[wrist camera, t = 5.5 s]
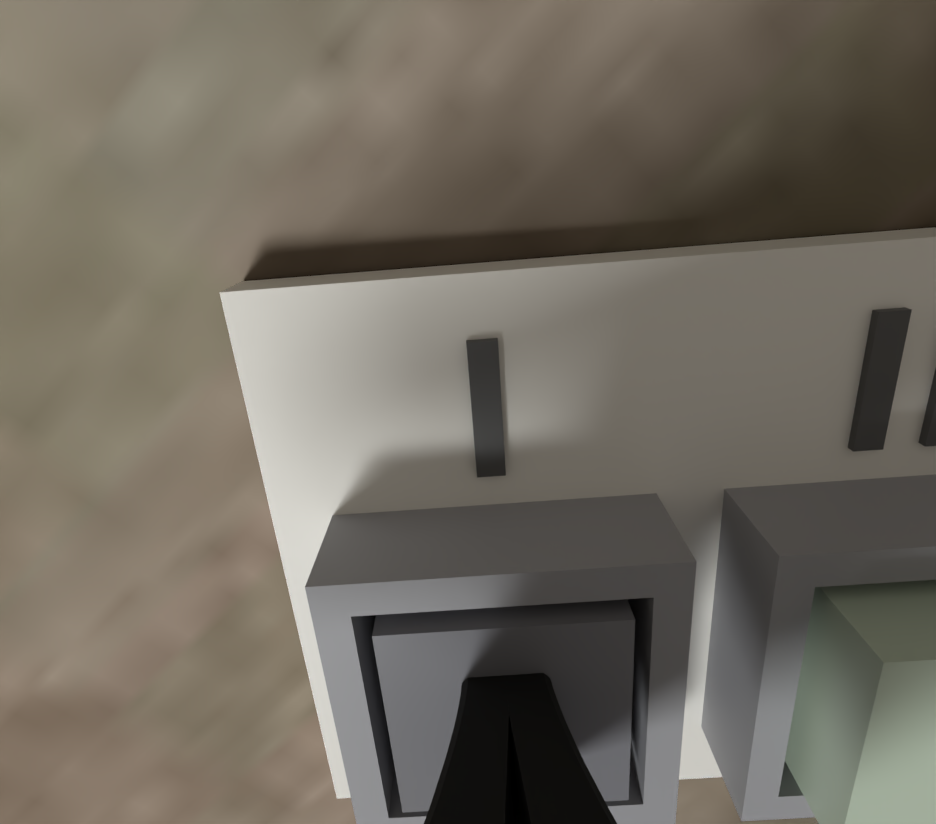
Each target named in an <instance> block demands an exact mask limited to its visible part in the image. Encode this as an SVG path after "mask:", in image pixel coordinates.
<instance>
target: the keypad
mask: <svg viewBox="0 0 936 824" xmlns="http://www.w3.org/2000/svg"><path fill="white" fill-rule="evenodd" d="M220 297H221V301H222V305H223V310H224V314H225V318H226V323H227V327H228V331H229V335H230V340H231V344H232V348H233V353H234V357H235V361H236V366H237V370H238V374H239V379H240V383H241V387H242V391H243V396H244V400H245V404H246V409H247V413H248V417H249V422H250V426H251V430H252V435H253V439H254V443H255V447H256V452H257V456H258V460H259V465H260V469H261V473H262V478H263V482H264V486H265V491H266V495H267V499H268V503H269V508H270V512H271V516H272V521H273V525H274V529H275V534H276V538H277V542H278V547H279V551H280V555H281V559H282V564H283V568H284V572H285V577H286V581H287V585H288V590H289V594H290V598H291V603H292V607H293V611H294V616H295V620H296V624H297V628H298V633H299V637H300V641H301V646H302V650H303V654H304V659H305V663H306V667H307V672H308V676H309V680H310V684H311V689H312V693H313V697H314V702H315V706H316V710H317V715H318V719H319V723H320V728H321V732H322V736H323V740H324V745H325V749H326V753H327V758H328V762H329V766H330V771H331V775H332V779H333V784H334V788H335V792H336V796H337V798H351V800H352V805H353V809H354V814H355V818H356V823H357V824H424V821H425V819H426V816H427V813H428V811H422V812H404V813H403V812H402V806H401V801H400V795H399V789H398V783H397V778H396V772H395V766H394V760H393V755H392V749H391V743H390V737H389V732H388V726H387V720H386V714H385V709H384V703H383V697H382V691H381V686H380V680H379V674H378V668H377V663H376V657H375V651H374V645H373V640H372V633H373V628H374V623H375V618H376V615H385V614H401V613H417V612H432V611H448V610H464V609H480V608H496V607H511V606H527V605H543V604H559V603H574V602H590V601H606V600H622V599H628V602H629V605H630V607H631V610H632V613H633V615H634V618H635V640H634V667H633V694H632V721H631V748H630V775H629V800H622V801H605V802H606V804H607V806H608V808H609V810H610V812H611V813H612V815H613V817H614V819H615V821H616V822H617V824H675V820H676V808H677V796H678V784H679V779H696V778H714V777H723V779H724V782H725V784H726V786H727V789H728V791H729V793H730V796H731V798H732V800H733V803H734V805H735V808H736V810H737V812H738V815H739V817H740V819H741V821H754V820H773V819H791V818H810V817H815V816H814V814H813V812H812V810H811V808H810V807H809V805H808V803H807V801H806V799H805V797H804V795H803V794H802V792H801V790H800V788H799V786H798V784H797V782H796V781H795V779H794V777H793V775H792V773H791V771H790V769H789V768H788V766H787V764H786V762H785V756H786V751H787V745H788V739H789V733H790V728H791V722H792V716H793V711H794V705H795V699H796V693H797V688H798V682H799V676H800V670H801V665H802V659H803V653H804V648H805V642H806V636H807V630H808V625H809V619H810V613H811V608H812V602H813V596H814V590H815V587H827V586H843V585H859V584H874V583H890V582H906V581H922V580H936V227H932V228H919V229H906V230H893V231H880V232H867V233H855V234H842V235H829V236H816V237H803V238H791V239H778V240H765V241H752V242H739V243H726V244H714V245H701V246H688V247H675V248H662V249H650V250H637V251H624V252H611V253H598V254H585V255H573V256H560V257H547V258H534V259H521V260H509V261H496V262H483V263H470V264H457V265H444V266H432V267H419V268H406V269H393V270H380V271H368V272H355V273H342V274H329V275H316V276H303V277H291V278H278V279H265V280H252V281H242V282H240V283H238V284H236V285H234V286H232V287H230V288H228V289H226V290H223V291H221V292H220Z"/></svg>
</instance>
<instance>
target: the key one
mask: <svg viewBox="0 0 936 824" xmlns="http://www.w3.org/2000/svg"><path fill="white" fill-rule="evenodd" d="M372 640H373V645H374V651H375V657H376V663H377V668H378V674H379V680H380V686H381V691H382V697H383V703H384V709H385V714H386V720H387V726H388V732H389V737H390V743H391V749H392V755H393V760H394V766H395V772H396V778H397V783H398V789H399V795H400V801H401V806H402V812H403V813H404V812H422V811H428V810H429V808H430V805H431V802H432V799H433V796H434V792H435V789H436V786H437V783H438V780H439V777H440V774H441V771H442V768H443V764H444V761H445V758H446V755H447V751H448V747H449V744H450V740H451V736H452V733H453V729H454V725H455V720H456V716H457V711H458V706H459V701H460V695H461V686H462V683H463V682H464V681H465V680H466V679H467V678H469V677H486V676H503V675H519V674H534V673H544V674H546V675H547V676H548V677H549V678H550V679H551V682H552V686H553V689H554V692H555V695H556V698H557V700H558V703H559V706H560V708H561V711H562V713H563V716H564V718H565V721H566V723H567V725H568V728H569V730H570V732H571V734H572V736H573V739H574V741H575V743H576V745H577V747H578V750H579V752H580V754H581V756H582V758H583V760H584V762H585V764H586V766H587V768H588V770H589V772H590V774H591V776H592V778H593V779H594V781H595V783H596V785H597V787H598V789H599V791H600V793H601V795H602V797H603V799H604V800H605V801H622V800H629V775H630V748H631V721H632V694H633V667H634V640H635V618H634V615H633V613H632V610H631V607H630V605H629V602H628V599H622V600H606V601H590V602H574V603H559V604H543V605H527V606H511V607H496V608H480V609H464V610H448V611H432V612H417V613H401V614H385V615H376V618H375V623H374V628H373V633H372Z"/></svg>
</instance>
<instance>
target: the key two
mask: <svg viewBox="0 0 936 824" xmlns="http://www.w3.org/2000/svg"><path fill="white" fill-rule="evenodd" d="M785 762H786V764H787V766H788V768H789V769H790V771H791V773H792V775H793V777H794V779H795V781H796V782H797V784H798V786H799V788H800V790H801V792H802V794H803V795H804V797H805V799H806V801H807V803H808V805H809V807H810V808H811V810H812V812H813V814H814V816H815V818H816V819H817V821H818V823H819V824H936V580H922V581H906V582H890V583H874V584H859V585H843V586H827V587H815V590H814V596H813V602H812V608H811V613H810V619H809V625H808V630H807V636H806V642H805V648H804V653H803V659H802V665H801V670H800V676H799V682H798V688H797V693H796V699H795V705H794V711H793V716H792V722H791V728H790V733H789V739H788V745H787V751H786V756H785Z"/></svg>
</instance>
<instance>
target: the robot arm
mask: <svg viewBox="0 0 936 824" xmlns="http://www.w3.org/2000/svg"><path fill="white" fill-rule="evenodd" d="M424 824H617V822H616V821H615V819H614V817H613V815H612V813H611V812H610V810H609V808H608V806H607V804H606V802H605V800H604V799H603V797H602V795H601V793H600V791H599V789H598V787H597V785H596V783H595V781H594V779H593V778H592V776H591V774H590V772H589V770H588V768H587V766H586V764H585V762H584V760H583V758H582V756H581V754H580V752H579V750H578V747H577V745H576V743H575V741H574V739H573V736H572V734H571V732H570V730H569V728H568V725H567V723H566V721H565V718H564V716H563V713H562V711H561V708H560V706H559V703H558V700H557V698H556V695H555V692H554V689H553V686H552V682H551V679H550V678H549V677H548V676H547V675H546V674H544V673H534V674H519V675H503V676H486V677H469V678H467V679H466V680H465V681H464V682H463V683H462V686H461V695H460V701H459V706H458V711H457V716H456V720H455V725H454V729H453V733H452V736H451V740H450V744H449V747H448V751H447V755H446V758H445V761H444V764H443V768H442V771H441V774H440V777H439V780H438V783H437V786H436V789H435V792H434V796H433V799H432V802H431V805H430V808H429V810H428V813H427V816H426V819H425V821H424Z"/></svg>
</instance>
